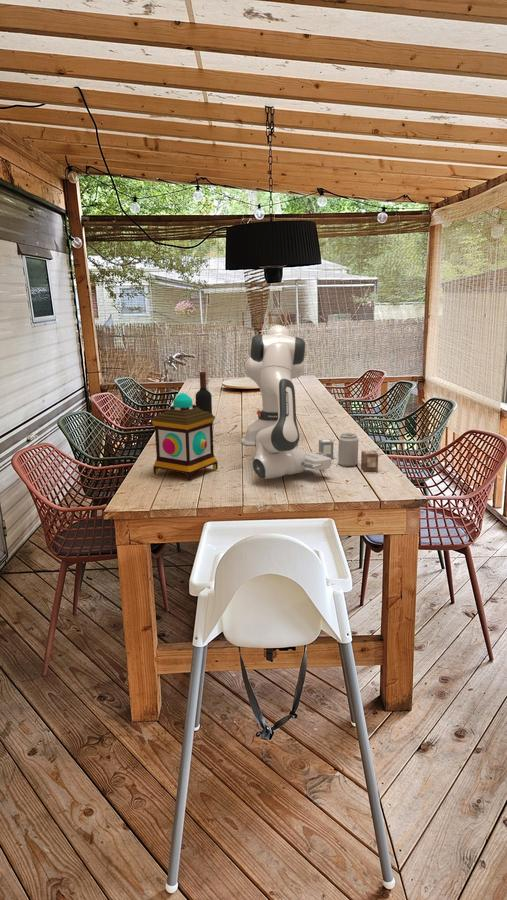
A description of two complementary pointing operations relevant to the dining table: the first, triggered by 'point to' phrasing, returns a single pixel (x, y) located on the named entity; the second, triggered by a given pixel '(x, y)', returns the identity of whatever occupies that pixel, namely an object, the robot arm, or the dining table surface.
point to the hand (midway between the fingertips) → (324, 455)
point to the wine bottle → (204, 395)
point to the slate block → (326, 447)
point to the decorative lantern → (184, 438)
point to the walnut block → (369, 461)
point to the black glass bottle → (208, 390)
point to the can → (348, 450)
